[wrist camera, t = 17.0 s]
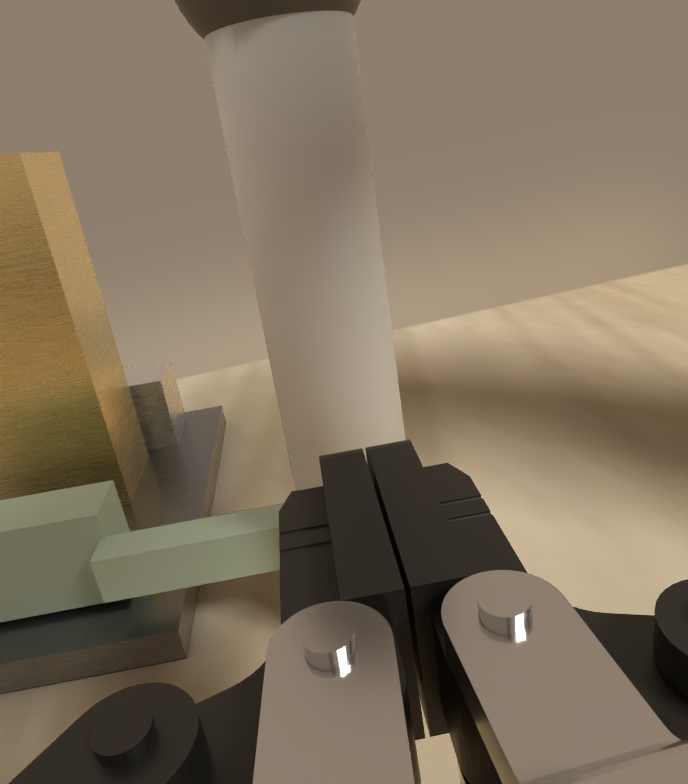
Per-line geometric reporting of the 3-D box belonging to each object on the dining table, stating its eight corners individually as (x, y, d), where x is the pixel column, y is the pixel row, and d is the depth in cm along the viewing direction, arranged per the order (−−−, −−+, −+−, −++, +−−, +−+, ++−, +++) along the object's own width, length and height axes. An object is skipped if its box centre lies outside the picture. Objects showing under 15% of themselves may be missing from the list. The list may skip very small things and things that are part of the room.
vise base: (186, 657, 18) (147, 535, 17) (-207, 733, 18) (-285, 615, 16) (225, 423, 33) (208, 347, 32) (15, 460, 33) (-13, 385, 31)
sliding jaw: (458, 624, 16) (369, -258, 10) (-214, 754, 15) (-792, -104, 9) (413, 507, 21) (335, -118, 15) (-92, 601, 21) (-402, -13, 14)
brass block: (130, 502, 25) (19, 153, 20) (2, 526, 25) (-142, 178, 20) (149, 456, 29) (58, 151, 24) (38, 476, 28) (-77, 173, 24)
